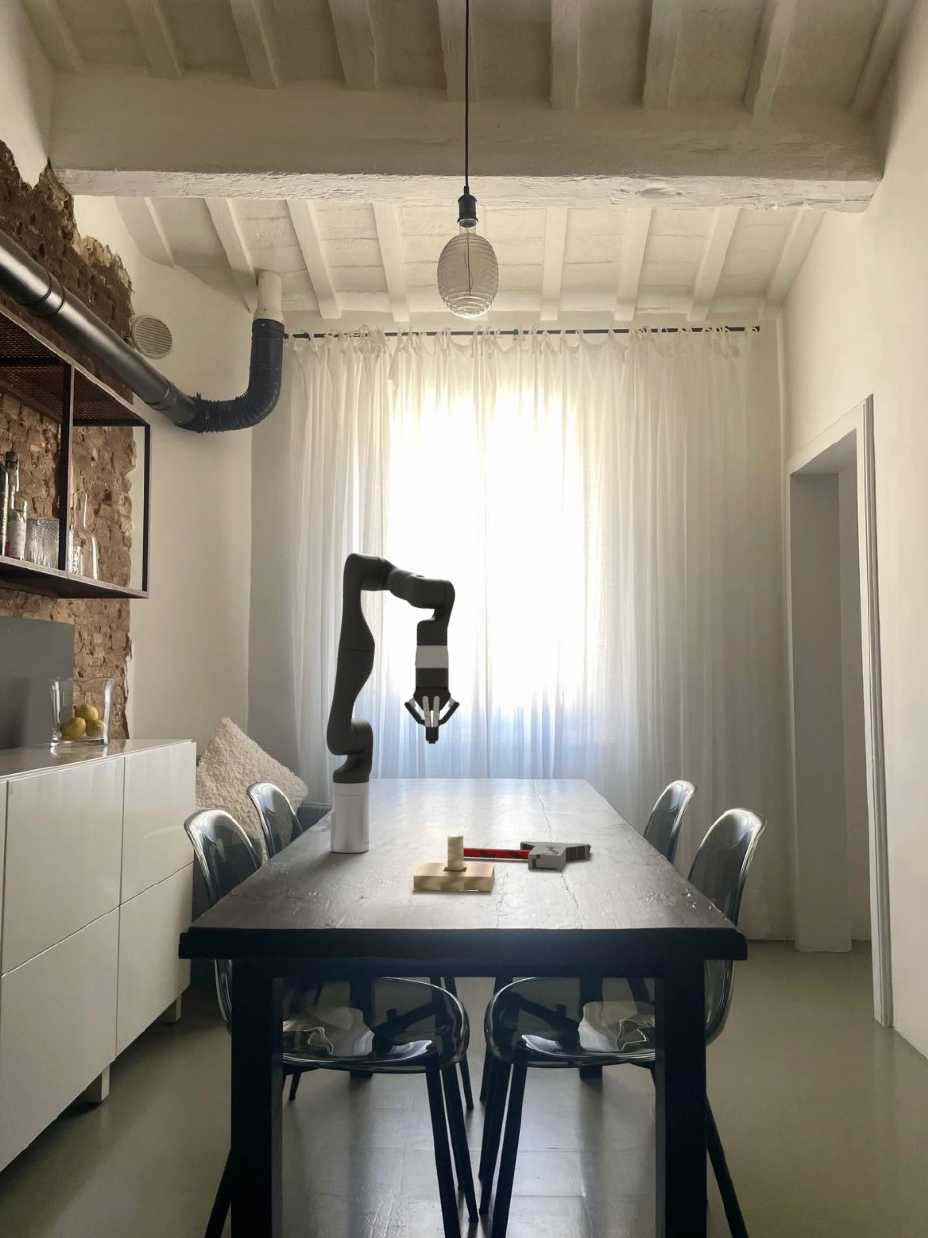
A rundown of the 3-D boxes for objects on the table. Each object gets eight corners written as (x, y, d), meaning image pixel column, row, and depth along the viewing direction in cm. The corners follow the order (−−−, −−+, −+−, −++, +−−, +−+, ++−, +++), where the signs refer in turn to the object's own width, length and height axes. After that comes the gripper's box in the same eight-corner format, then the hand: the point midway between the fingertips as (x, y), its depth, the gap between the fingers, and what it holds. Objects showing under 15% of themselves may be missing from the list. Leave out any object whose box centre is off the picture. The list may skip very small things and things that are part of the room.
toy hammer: (473, 834, 247) (590, 839, 240) (473, 849, 247) (591, 854, 240) (452, 851, 223) (581, 856, 217) (452, 867, 223) (581, 873, 217)
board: (413, 890, 198) (413, 875, 198) (422, 876, 212) (422, 862, 212) (491, 891, 196) (491, 876, 196) (494, 877, 210) (494, 863, 210)
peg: (446, 885, 202) (446, 837, 203) (448, 882, 206) (448, 834, 206) (463, 885, 202) (463, 837, 203) (464, 882, 206) (464, 835, 206)
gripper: (462, 666, 219) (462, 742, 218) (405, 666, 220) (405, 742, 219) (459, 666, 212) (460, 745, 211) (400, 666, 213) (400, 744, 212)
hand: (432, 743), depth 215 cm, fingers closed
